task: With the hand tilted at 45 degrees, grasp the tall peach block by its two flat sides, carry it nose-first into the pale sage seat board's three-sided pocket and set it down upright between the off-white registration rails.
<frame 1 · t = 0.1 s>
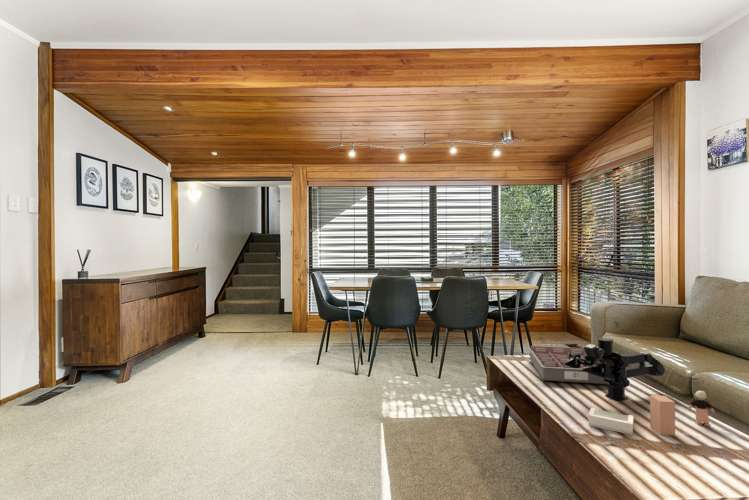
hand: (573, 366, 169), 17 cm above the table, tool horizontal, fingers open, 9 cm apart
tall peach block: (662, 431, 144), on the table
organizer tray: (566, 373, 214), on the table
grandmother figurine: (701, 424, 150), on the table
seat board: (611, 424, 150), on the table
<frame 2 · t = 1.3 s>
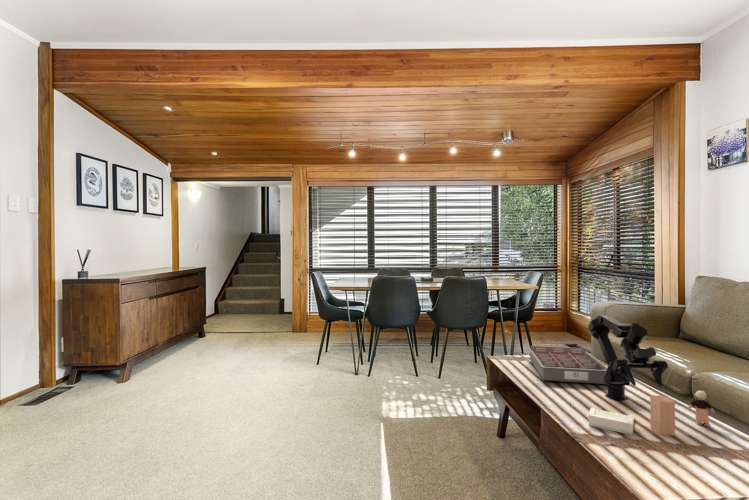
hand: (647, 385, 153), 14 cm above the table, tool tilted 45°, fingers open, 9 cm apart
nothing on the table moved.
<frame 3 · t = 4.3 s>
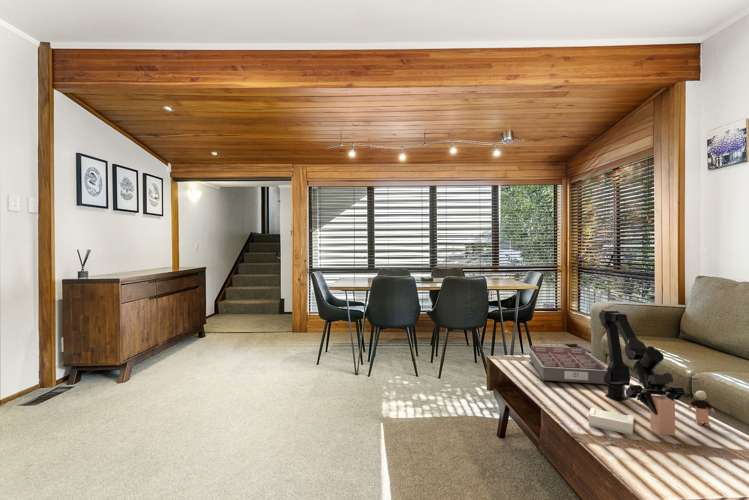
hand: (664, 414, 143), 7 cm above the table, tool tilted 45°, fingers closed on tall peach block, 5 cm apart
tall peach block: (662, 431, 144), on the table, touching gripper
everything else where it was.
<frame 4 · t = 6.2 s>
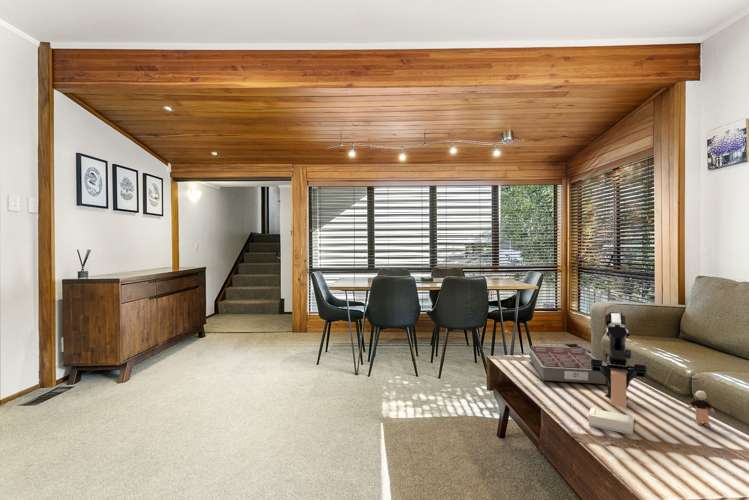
hand: (618, 387, 153), 13 cm above the table, tool tilted 45°, fingers closed on tall peach block, 5 cm apart
tall peach block: (618, 403, 154), point 7 cm above the table, touching gripper
everything else where it was.
when the fingers open (8 cm above the table, at t = 8.2 s): tall peach block stays where it is, resting on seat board.
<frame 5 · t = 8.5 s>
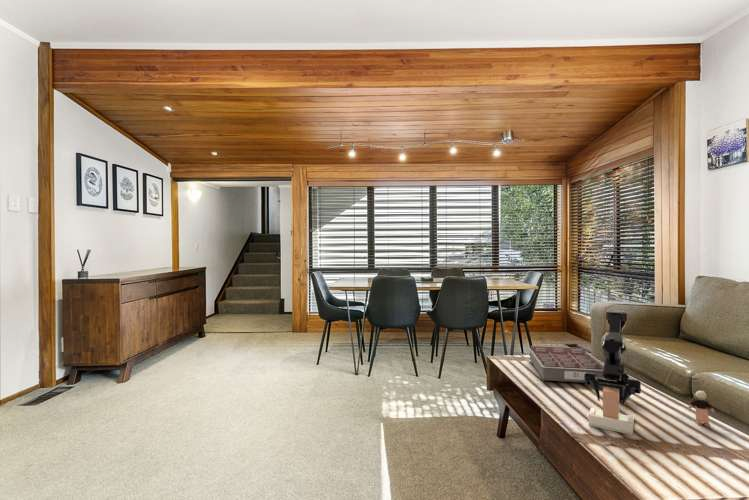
hand: (610, 402, 149), 9 cm above the table, tool tilted 45°, fingers open, 8 cm apart
tall peach block: (611, 421, 150), point 1 cm above the table, touching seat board
everything else where it was.
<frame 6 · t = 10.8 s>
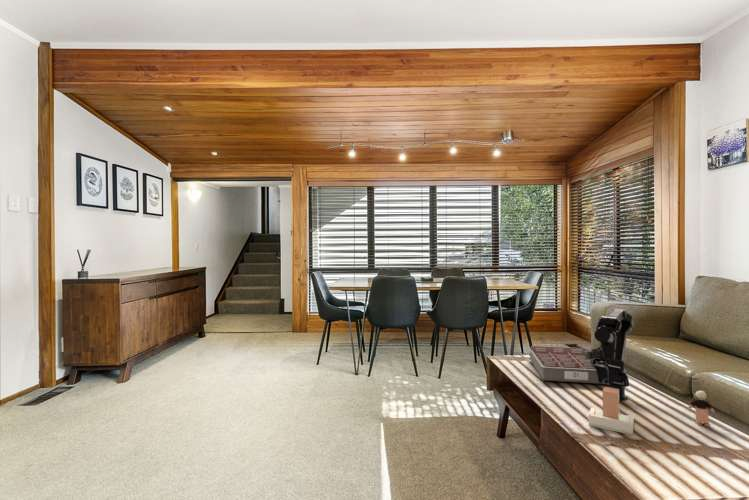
hand: (604, 383, 164), 11 cm above the table, tool tilted 20°, fingers open, 9 cm apart
nothing on the table moved.
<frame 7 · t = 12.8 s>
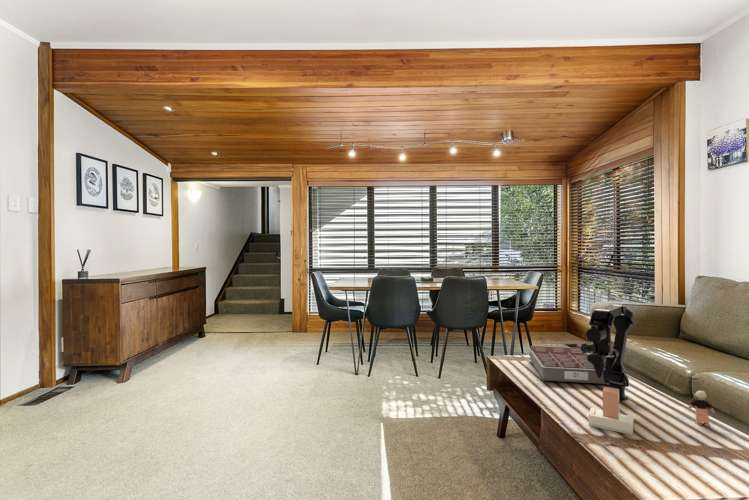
hand: (603, 375, 168), 13 cm above the table, tool pointing down, fingers open, 9 cm apart
nothing on the table moved.
at the end: tall peach block inside the target area on the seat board (0.0 cm from its centre), point 1.0 cm above the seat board's base; tall peach block tilted 0°; the gripper is holding nothing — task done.
